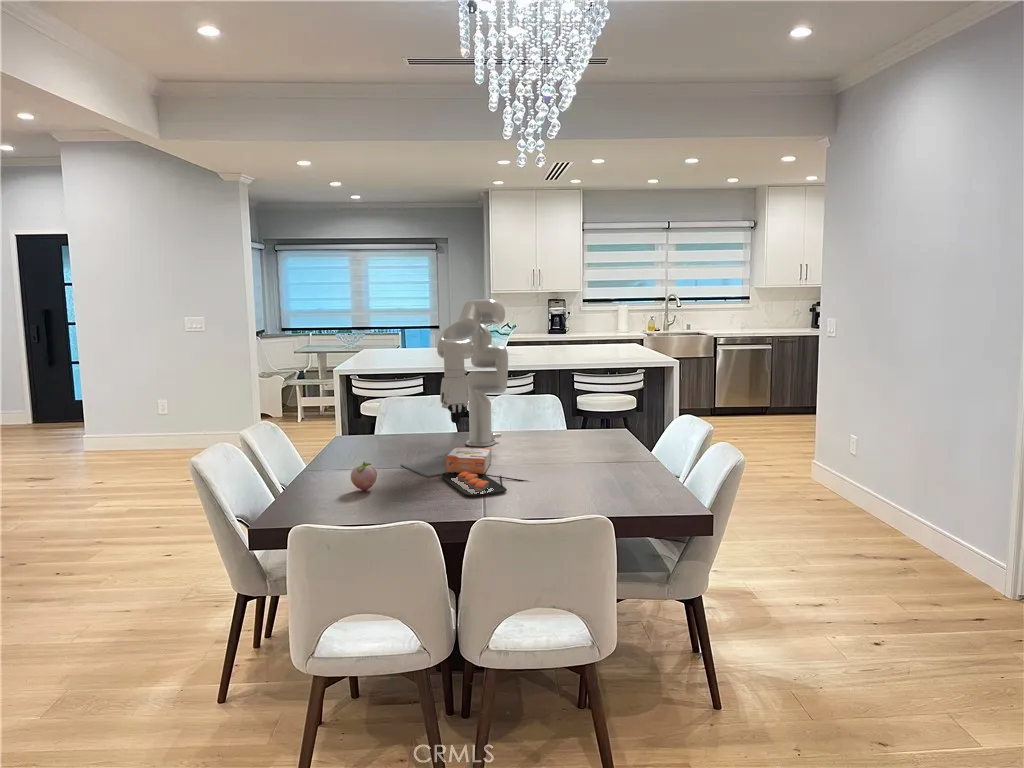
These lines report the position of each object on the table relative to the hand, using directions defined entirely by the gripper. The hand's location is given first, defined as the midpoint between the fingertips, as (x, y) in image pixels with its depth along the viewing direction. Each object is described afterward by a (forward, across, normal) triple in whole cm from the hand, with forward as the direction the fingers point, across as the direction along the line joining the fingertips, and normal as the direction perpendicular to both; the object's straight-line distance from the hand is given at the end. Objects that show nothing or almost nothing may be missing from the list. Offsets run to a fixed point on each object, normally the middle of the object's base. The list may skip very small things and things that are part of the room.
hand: (455, 422), depth 264 cm
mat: (+16, +7, 0) cm, 18 cm away
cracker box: (+13, -6, +2) cm, 14 cm away
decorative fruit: (+16, +43, +14) cm, 48 cm away
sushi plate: (+17, +3, +31) cm, 36 cm away
